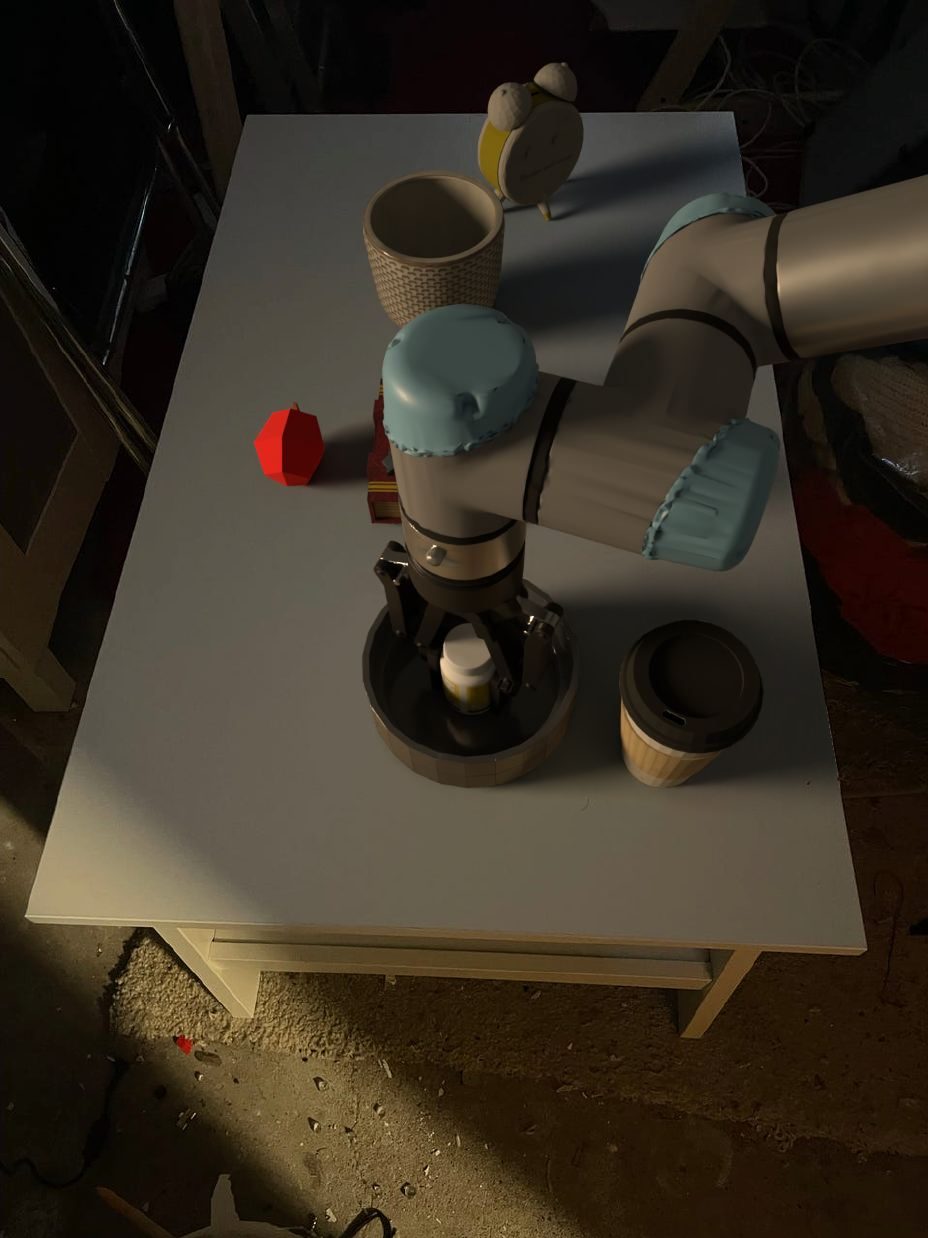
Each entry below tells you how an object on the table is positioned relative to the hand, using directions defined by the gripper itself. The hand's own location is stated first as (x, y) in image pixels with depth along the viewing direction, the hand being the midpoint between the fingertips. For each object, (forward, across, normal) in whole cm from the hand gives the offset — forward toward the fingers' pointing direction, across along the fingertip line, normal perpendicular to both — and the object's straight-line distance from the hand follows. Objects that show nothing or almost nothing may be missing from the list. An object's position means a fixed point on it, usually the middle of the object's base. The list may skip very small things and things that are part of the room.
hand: (471, 687), depth 75 cm
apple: (+1, -26, +15) cm, 30 cm away
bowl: (+1, 0, 0) cm, 1 cm away
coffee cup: (+1, +16, +2) cm, 16 cm away
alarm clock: (+1, -20, +60) cm, 63 cm away
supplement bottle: (+1, 0, 0) cm, 1 cm away
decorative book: (+1, -14, +21) cm, 25 cm away
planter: (+1, -22, +39) cm, 45 cm away
